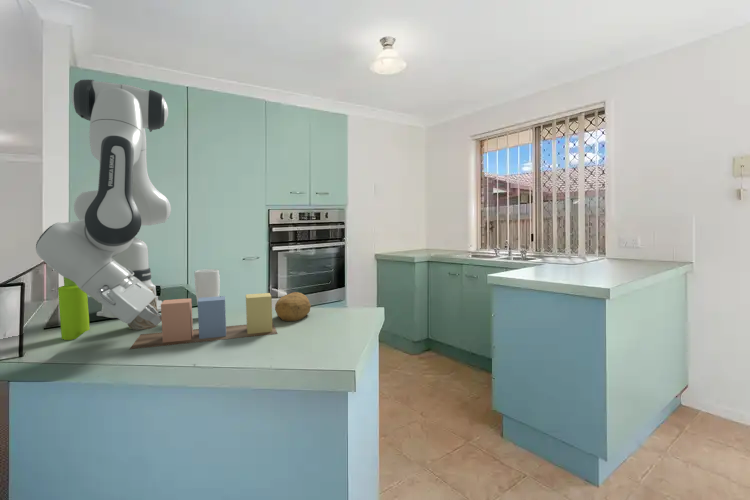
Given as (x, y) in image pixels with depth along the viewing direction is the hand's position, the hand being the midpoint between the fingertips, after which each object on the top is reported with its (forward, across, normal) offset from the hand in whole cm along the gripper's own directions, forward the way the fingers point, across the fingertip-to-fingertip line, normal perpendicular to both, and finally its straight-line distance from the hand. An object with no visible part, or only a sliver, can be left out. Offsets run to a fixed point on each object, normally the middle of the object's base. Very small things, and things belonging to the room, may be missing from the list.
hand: (160, 321), depth 94 cm
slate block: (+11, 0, -5) cm, 12 cm away
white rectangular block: (+11, +21, -2) cm, 24 cm away
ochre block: (+19, 0, -13) cm, 23 cm away
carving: (0, +15, +9) cm, 17 cm away
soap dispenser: (-12, +17, +20) cm, 29 cm away
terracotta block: (+6, 0, 0) cm, 6 cm away
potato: (+27, +11, -19) cm, 35 cm away
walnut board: (+12, +1, -3) cm, 12 cm away
